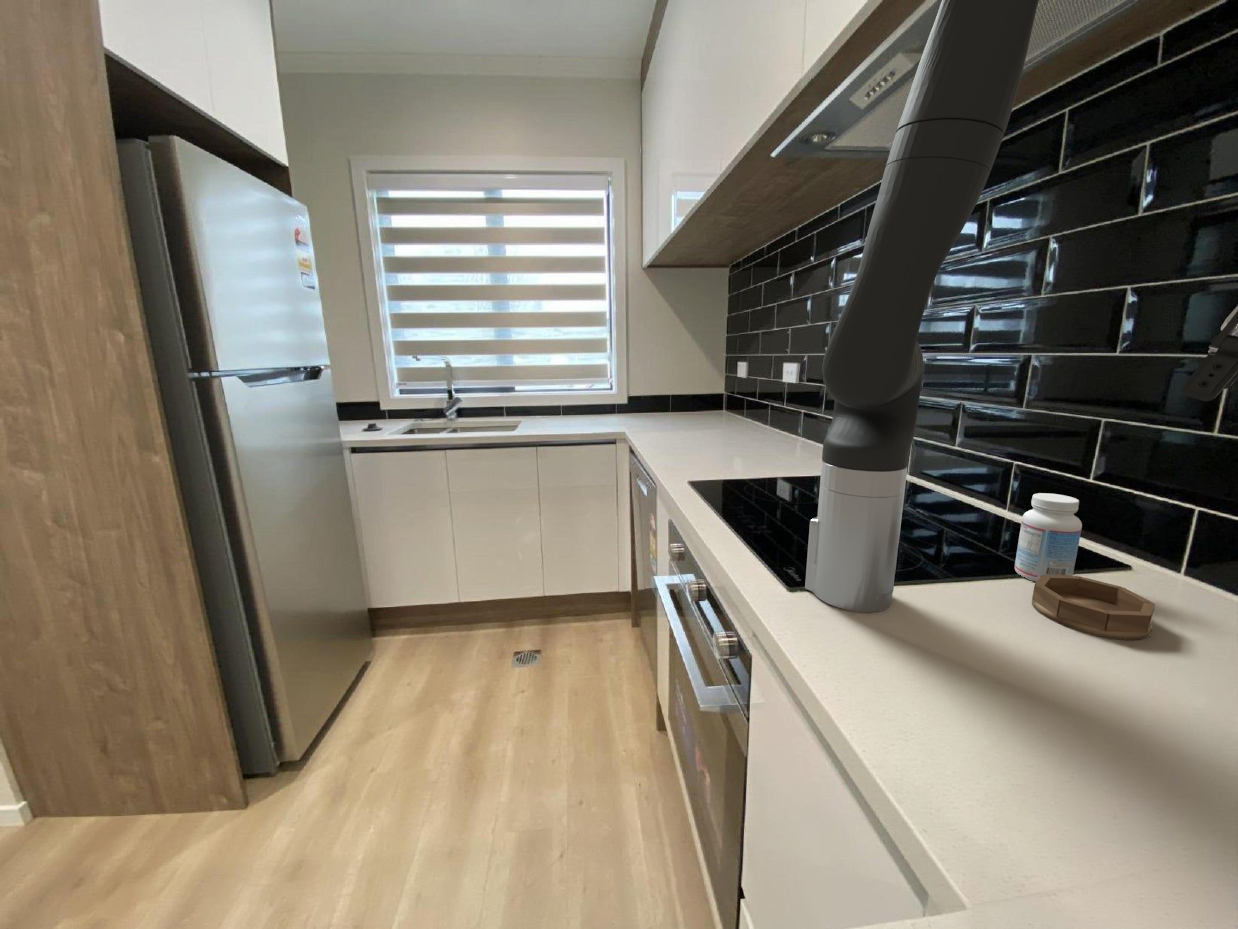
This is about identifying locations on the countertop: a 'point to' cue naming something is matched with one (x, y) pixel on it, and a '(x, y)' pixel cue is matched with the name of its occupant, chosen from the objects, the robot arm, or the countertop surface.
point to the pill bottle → (1048, 537)
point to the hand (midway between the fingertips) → (1203, 391)
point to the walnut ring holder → (1093, 607)
